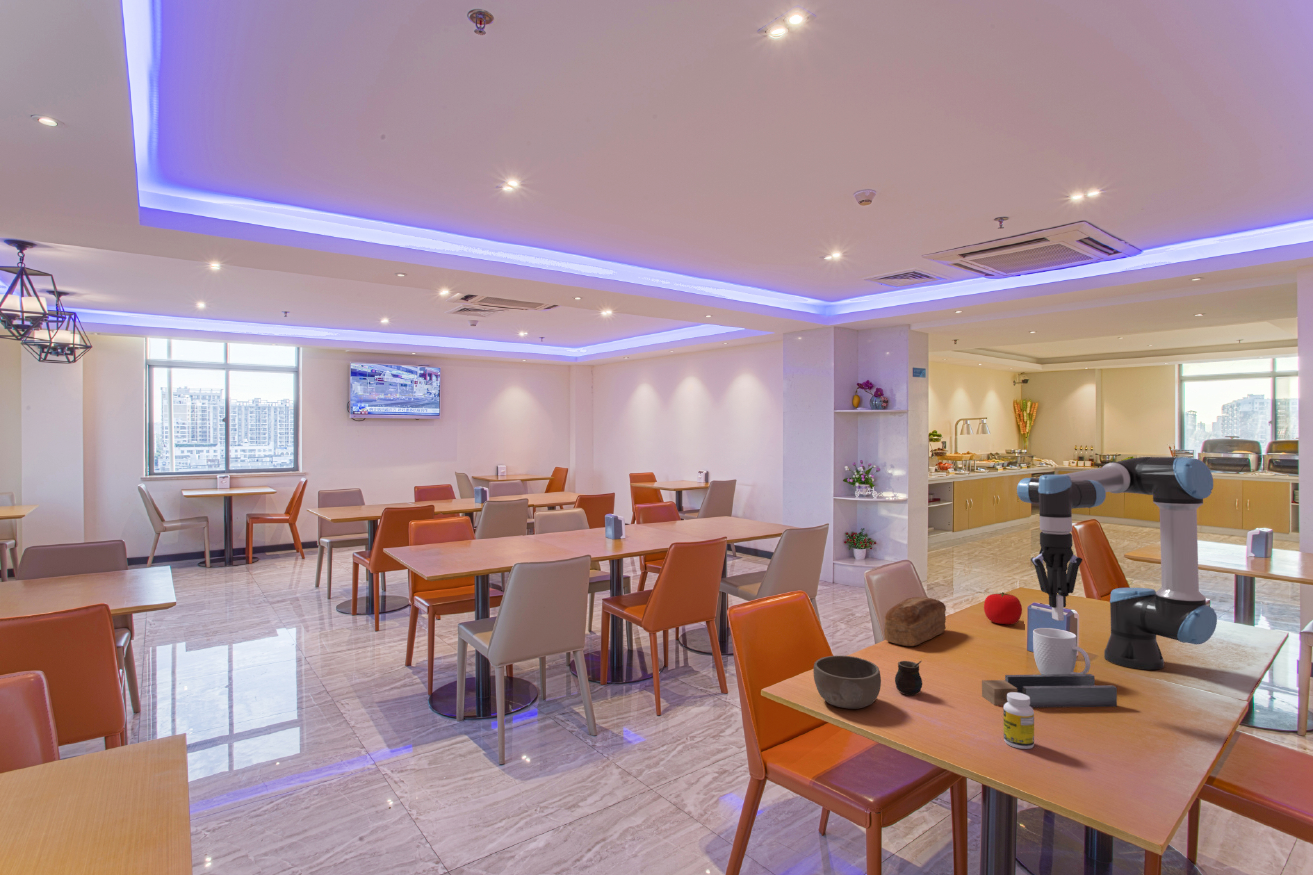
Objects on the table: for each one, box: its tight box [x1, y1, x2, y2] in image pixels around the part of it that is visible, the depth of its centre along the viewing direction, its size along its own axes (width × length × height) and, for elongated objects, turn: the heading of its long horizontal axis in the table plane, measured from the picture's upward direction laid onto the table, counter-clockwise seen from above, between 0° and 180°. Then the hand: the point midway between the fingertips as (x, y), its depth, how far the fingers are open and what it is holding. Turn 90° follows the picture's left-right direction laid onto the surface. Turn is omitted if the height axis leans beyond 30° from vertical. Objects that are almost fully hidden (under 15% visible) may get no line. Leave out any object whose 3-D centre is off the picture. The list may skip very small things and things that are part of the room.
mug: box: [1032, 627, 1091, 675], centre depth 192 cm, size 15×11×13 cm
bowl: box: [812, 655, 882, 710], centre depth 176 cm, size 17×18×10 cm
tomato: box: [983, 592, 1023, 626], centre depth 251 cm, size 13×14×12 cm
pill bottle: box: [1003, 692, 1035, 750], centre depth 151 cm, size 6×6×11 cm
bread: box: [883, 596, 947, 647], centre depth 234 cm, size 12×31×14 cm, turn 134°
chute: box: [1004, 673, 1118, 709], centre depth 177 cm, size 24×10×5 cm, turn 91°
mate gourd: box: [894, 660, 923, 696], centre depth 182 cm, size 7×8×10 cm
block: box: [981, 679, 1017, 706], centre depth 176 cm, size 6×6×4 cm
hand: (1057, 619), depth 177 cm, fingers closed
